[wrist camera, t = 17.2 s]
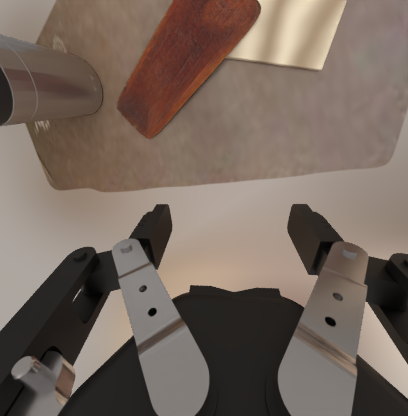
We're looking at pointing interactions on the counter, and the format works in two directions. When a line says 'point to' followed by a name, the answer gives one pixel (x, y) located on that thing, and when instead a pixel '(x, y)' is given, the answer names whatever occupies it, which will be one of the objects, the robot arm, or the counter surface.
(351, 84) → the counter surface
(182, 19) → the wooden tablet
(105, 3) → the counter surface
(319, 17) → the birch board
